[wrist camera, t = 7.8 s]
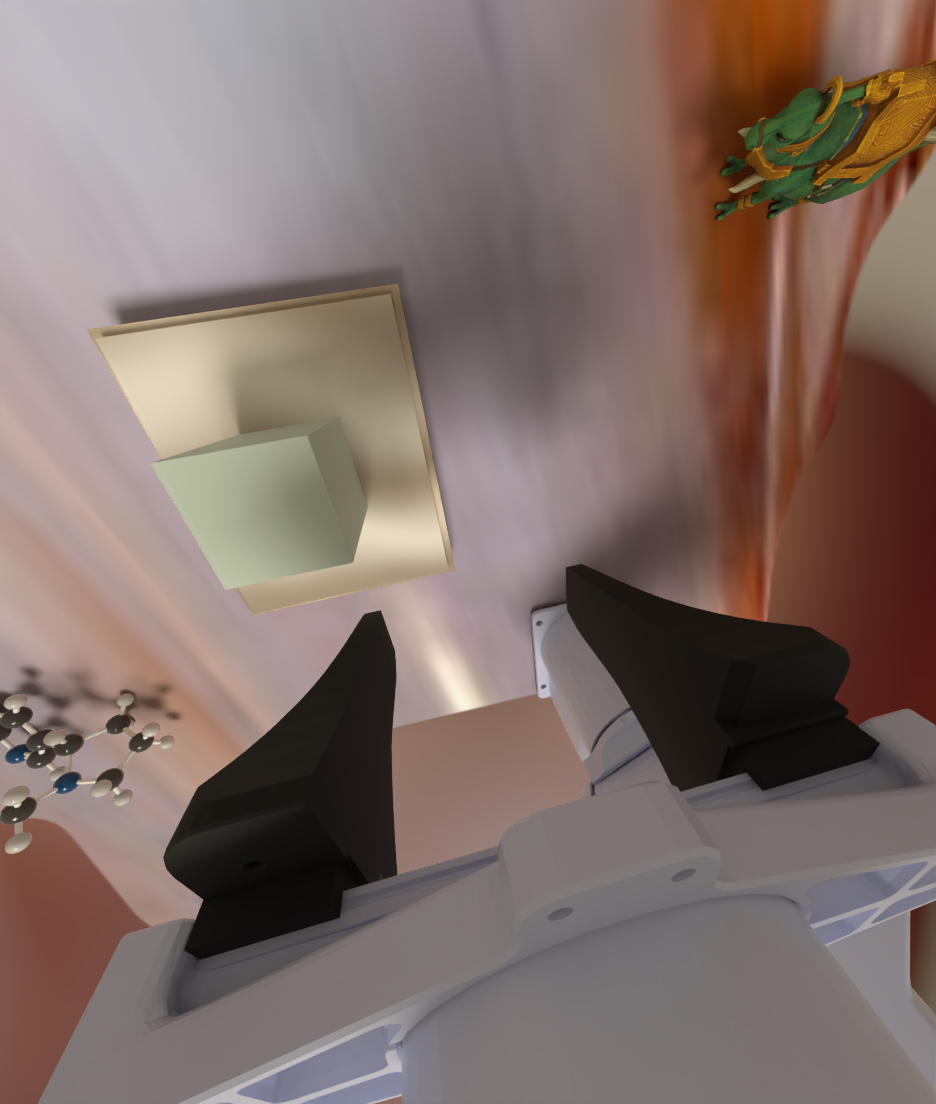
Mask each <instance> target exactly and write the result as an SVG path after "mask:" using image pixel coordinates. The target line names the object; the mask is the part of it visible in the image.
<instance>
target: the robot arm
mask: <svg viewBox="0 0 936 1104" xmlns="http://www.w3.org/2000/svg"><path fill="white" fill-rule="evenodd" d="M566 596H567V603H565V604H561V605H557V606H553V607H549V608H545V609H540V610H537V611H534V612H533V613H532V615H531V622H532V635H533V647H534V660H535V672H536V684H537V694H538V696H539V697H540V698H546V697H550V696H551V698H552V700H553V702H554V704H555V707H556V709H557V711H558V713H559V715H560V717H561V719H562V721H563V724H564V726H565V728H566V730H567V732H568V734H569V736H570V738H571V740H572V743H573V745H574V747H575V749H576V751H577V753H578V755H579V757H580V758H581V760H582V762H583V764H584V766H585V768H586V771H587V773H588V775H589V777H590V779H591V781H590V782H589V783H587V784H586V785H585V787H584V789H583V799H580V800H576V801H573V802H570V803H566V804H563V805H559V806H556V807H553V808H549V809H546V810H542V811H538V812H536V813H534V814H531V815H529V816H527V817H525V818H522V819H520V820H518V821H516V822H515V823H514V824H513V825H512V826H511V827H510V828H509V829H507V831H505V832H504V833H503V835H502V837H501V839H500V843H499V845H498V846H495V847H492V848H488V849H485V850H482V851H478V852H475V853H471V854H468V855H464V856H461V857H458V858H454V859H451V860H448V861H444V862H441V863H437V864H434V865H430V866H427V867H424V868H420V869H417V870H414V871H410V872H407V873H404V874H400V875H397V864H396V850H395V831H394V813H393V791H392V790H393V788H392V750H391V744H392V726H393V713H394V701H395V688H396V659H395V650H394V647H393V644H392V641H391V638H390V635H389V633H388V630H387V627H386V624H385V621H384V618H383V615H382V613H381V610H380V611H376V612H371V613H367V614H364V615H363V617H362V618H361V620H360V621H359V623H358V624H357V626H356V628H355V629H354V631H353V632H352V634H351V635H350V637H349V639H348V640H347V642H346V643H345V645H344V646H343V648H342V649H341V651H340V652H339V654H338V655H337V656H336V658H335V659H334V661H333V662H332V663H331V665H330V666H329V667H328V669H327V670H326V671H325V673H324V674H323V675H322V676H321V678H320V679H319V680H318V681H317V682H316V684H315V685H314V686H313V687H312V688H311V689H310V690H309V692H308V693H307V694H306V695H305V696H304V697H303V698H302V699H301V700H300V701H299V702H298V703H297V704H296V705H295V706H294V707H293V708H292V709H291V710H290V711H289V712H288V713H287V714H286V715H285V716H284V717H283V718H282V719H281V720H280V721H279V722H278V723H277V724H276V725H275V726H274V727H273V728H272V729H271V730H269V731H268V732H267V733H266V734H265V735H264V736H263V737H262V738H260V739H259V740H258V741H257V742H256V743H255V744H253V745H252V746H251V747H250V748H249V749H247V750H246V751H245V752H244V753H243V754H241V755H240V756H239V757H238V758H236V759H235V760H234V761H232V762H231V763H230V764H228V765H227V766H226V767H224V768H223V769H222V770H220V771H219V772H218V773H217V774H215V775H214V776H213V777H211V778H210V779H209V780H207V781H206V782H205V783H203V784H202V785H200V786H199V787H198V788H197V790H196V792H195V794H194V796H193V797H192V799H191V801H190V803H189V805H188V807H187V809H186V811H185V813H184V815H183V817H182V819H181V821H180V823H179V825H178V827H177V829H176V831H175V833H174V835H173V837H172V839H171V840H170V842H169V844H168V846H167V848H166V851H165V854H164V857H163V858H164V862H165V866H166V869H167V870H168V871H169V873H170V874H171V875H172V876H173V877H174V878H175V879H177V880H178V881H179V882H181V883H182V884H183V885H185V886H186V887H187V888H189V889H190V890H191V891H193V892H194V893H195V894H197V895H198V896H199V897H201V898H202V899H203V902H202V905H201V908H200V910H199V913H198V915H197V918H196V920H194V919H179V920H173V921H170V922H167V923H163V924H160V925H156V926H153V927H149V928H146V929H142V930H139V931H135V932H132V933H129V934H127V935H126V936H124V937H123V938H122V939H121V941H120V943H119V945H118V947H117V949H116V951H115V953H114V955H113V957H112V959H111V960H110V962H109V964H108V967H107V968H106V970H105V972H104V974H103V976H102V978H101V980H100V982H99V984H98V986H97V988H96V990H95V992H94V994H93V996H92V998H91V1000H90V1002H89V1004H88V1006H87V1008H86V1010H85V1012H84V1014H83V1016H82V1018H81V1020H80V1021H79V1023H78V1025H77V1027H76V1029H75V1032H74V1033H73V1035H72V1037H71V1039H70V1041H69V1043H68V1045H67V1047H66V1049H65V1051H64V1053H63V1055H62V1057H61V1059H60V1061H59V1063H58V1065H57V1067H56V1069H55V1071H54V1073H53V1075H52V1077H51V1079H50V1081H49V1083H48V1085H47V1086H46V1088H45V1090H44V1092H43V1094H42V1096H41V1098H40V1100H39V1102H38V1104H373V1103H377V1102H381V1101H384V1100H388V1099H391V1098H395V1097H399V1096H402V1104H936V1015H935V1014H934V1013H933V1012H932V1010H931V1009H930V1008H929V1007H928V1006H927V1005H926V1003H925V1002H924V1001H923V1000H922V999H921V998H920V997H919V996H918V994H917V993H916V992H915V991H914V990H913V989H912V988H911V984H910V910H912V909H915V908H918V907H920V906H923V905H925V904H927V903H930V902H932V901H935V900H936V726H935V725H934V724H932V723H931V722H929V721H928V720H926V719H924V718H923V717H921V716H920V715H918V714H917V713H915V712H914V711H912V710H910V709H902V710H899V711H895V712H892V713H888V714H885V715H882V716H878V717H875V718H871V719H869V720H867V721H865V722H864V723H862V724H861V725H859V726H856V725H855V724H854V723H852V722H851V721H850V720H848V719H847V718H846V717H844V716H845V715H847V714H848V710H847V708H846V707H844V706H843V705H841V704H840V703H839V702H838V701H836V700H835V699H834V697H835V695H836V693H837V691H838V690H839V688H840V686H841V684H842V682H843V680H844V678H845V676H846V674H847V671H848V669H849V666H850V657H849V654H848V652H847V650H846V649H845V648H843V647H842V646H840V645H839V644H837V643H835V642H834V641H832V640H830V639H829V638H827V637H826V636H824V635H822V634H821V633H819V632H817V631H816V630H814V629H813V628H811V627H804V626H795V625H787V624H778V623H770V622H762V621H756V620H750V619H744V618H738V617H733V616H728V615H723V614H718V613H714V612H710V611H705V610H701V609H697V608H693V607H690V606H686V605H683V604H679V603H676V602H673V601H670V600H666V599H663V598H660V597H658V596H655V595H652V594H650V593H647V592H644V591H642V590H639V589H637V588H634V587H632V586H629V585H627V584H625V583H623V582H620V581H618V580H616V579H614V578H611V577H609V576H607V575H605V574H603V573H600V572H598V571H596V570H594V569H592V568H589V567H587V566H584V565H582V564H579V565H575V566H570V567H566ZM538 621H540V622H539V623H537V622H538Z"/></svg>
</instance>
